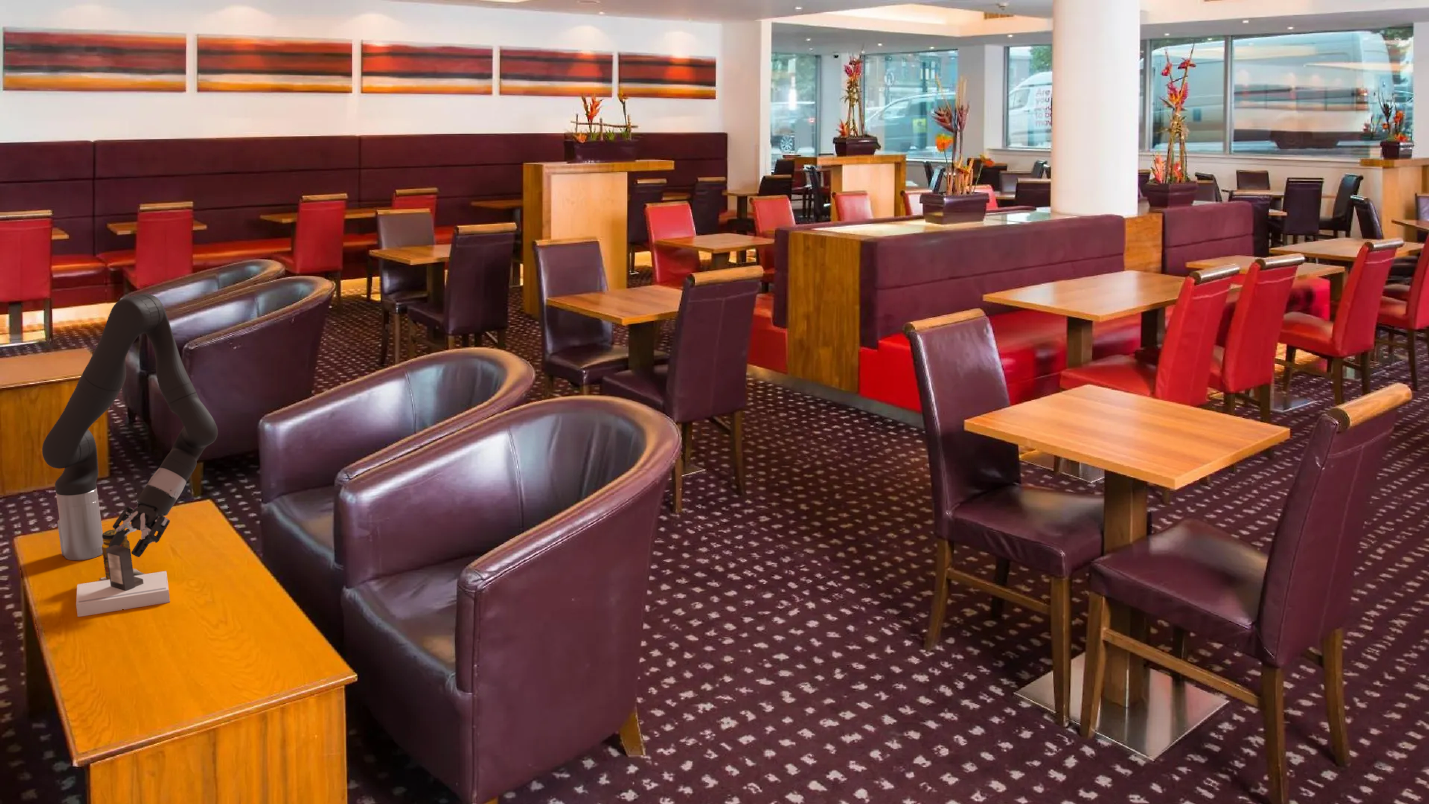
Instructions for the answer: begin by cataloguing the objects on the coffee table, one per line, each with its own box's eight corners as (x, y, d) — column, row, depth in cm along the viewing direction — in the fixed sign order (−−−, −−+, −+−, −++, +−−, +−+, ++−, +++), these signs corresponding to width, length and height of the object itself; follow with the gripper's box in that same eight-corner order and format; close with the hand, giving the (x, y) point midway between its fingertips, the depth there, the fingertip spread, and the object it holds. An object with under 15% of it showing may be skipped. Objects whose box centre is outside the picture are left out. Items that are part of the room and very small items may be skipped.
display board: (77, 616, 271) (76, 604, 271) (79, 596, 283) (77, 584, 282) (170, 602, 279) (168, 589, 279) (167, 582, 291) (166, 570, 290)
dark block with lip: (110, 586, 280) (105, 548, 278) (129, 579, 285) (124, 541, 282) (124, 591, 278) (120, 552, 276) (144, 584, 282) (139, 545, 280)
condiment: (99, 579, 293) (93, 532, 290) (134, 569, 299) (128, 523, 297) (113, 586, 289) (106, 539, 286) (148, 576, 295) (142, 529, 292)
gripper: (131, 479, 287) (92, 539, 280) (170, 488, 280) (131, 550, 273) (154, 494, 293) (116, 553, 286) (192, 504, 286) (154, 565, 279)
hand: (123, 552), depth 280 cm, fingers open, 8 cm apart
